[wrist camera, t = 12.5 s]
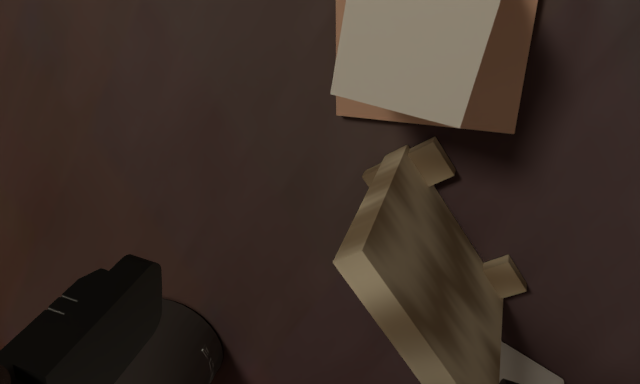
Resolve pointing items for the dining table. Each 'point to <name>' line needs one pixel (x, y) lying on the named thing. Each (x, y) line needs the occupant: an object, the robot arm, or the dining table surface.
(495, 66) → the coaster
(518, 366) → the milk
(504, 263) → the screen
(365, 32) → the cube
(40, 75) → the dining table surface
